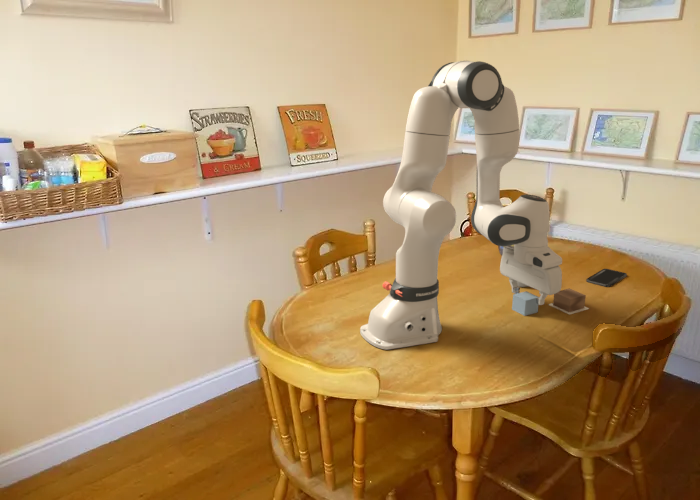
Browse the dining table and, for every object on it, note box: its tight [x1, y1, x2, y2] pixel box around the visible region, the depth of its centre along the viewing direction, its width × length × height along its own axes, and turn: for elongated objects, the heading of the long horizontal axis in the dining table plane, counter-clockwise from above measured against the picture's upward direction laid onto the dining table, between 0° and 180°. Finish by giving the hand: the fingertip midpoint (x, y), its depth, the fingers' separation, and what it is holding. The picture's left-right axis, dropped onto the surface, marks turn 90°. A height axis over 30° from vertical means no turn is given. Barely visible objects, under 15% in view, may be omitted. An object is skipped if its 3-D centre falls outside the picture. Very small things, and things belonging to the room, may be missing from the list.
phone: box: [585, 268, 628, 288], centre depth 185 cm, size 8×1×15 cm
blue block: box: [511, 291, 540, 317], centre depth 158 cm, size 5×5×6 cm
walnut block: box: [553, 288, 587, 312], centre depth 160 cm, size 6×6×4 cm
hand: (527, 298), depth 158 cm, fingers open, 8 cm apart
